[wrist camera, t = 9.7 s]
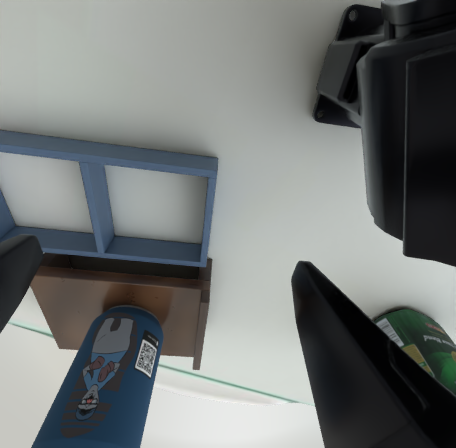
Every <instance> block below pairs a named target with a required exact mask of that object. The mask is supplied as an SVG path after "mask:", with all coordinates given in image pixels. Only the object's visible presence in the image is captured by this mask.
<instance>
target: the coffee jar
mask: <svg viewBox="0 0 456 448" xmlns="http://www.w3.org/2000/svg"><path fill="white" fill-rule="evenodd" d="M373 322H374V323H375V324H377V325H378V326H379V327H380V328H381V329H382V330H383V331H384V332H385V333H386V334H387V335H388V336H389V337H390V339H392V340H393V341H395V342H396V343H397V344H398V345H399V346H400V347H401V348H402V349H403V350H404V351H405V352H406V353H407V354H408V355H410V356H411V357H412V358H413V359H414V360H415V361H416V362H417V363H418V364H419V365H420V366H422V367H423V368H424V369H425V370H426V371H427V372H429V373H430V374H431V375H432V376H433V377H434V378H435V379H437V380H438V381H439V382H440V383H441V384H442V385H444V386H445V387H446V388H447V389H448V390H450V391H451V392H452V393H453V394H454V395H456V345H455V344H454V342H453V341H452V340H451V339H450V337H449V336H448V335H447V333H446V332H445V331H444V330H443V328H442V327H441V326H440V325H439V324H438V323H437V322H435V321H434V320H432V319H431V318H429V317H427V316H425V315H423V314H421V313H419V312H416V311H413V310H409V309H402V310H399V311H395V312H392V313H388V314H385V315H383V316H381V317H379V318H378V319H376V320H375V321H373Z"/></svg>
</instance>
